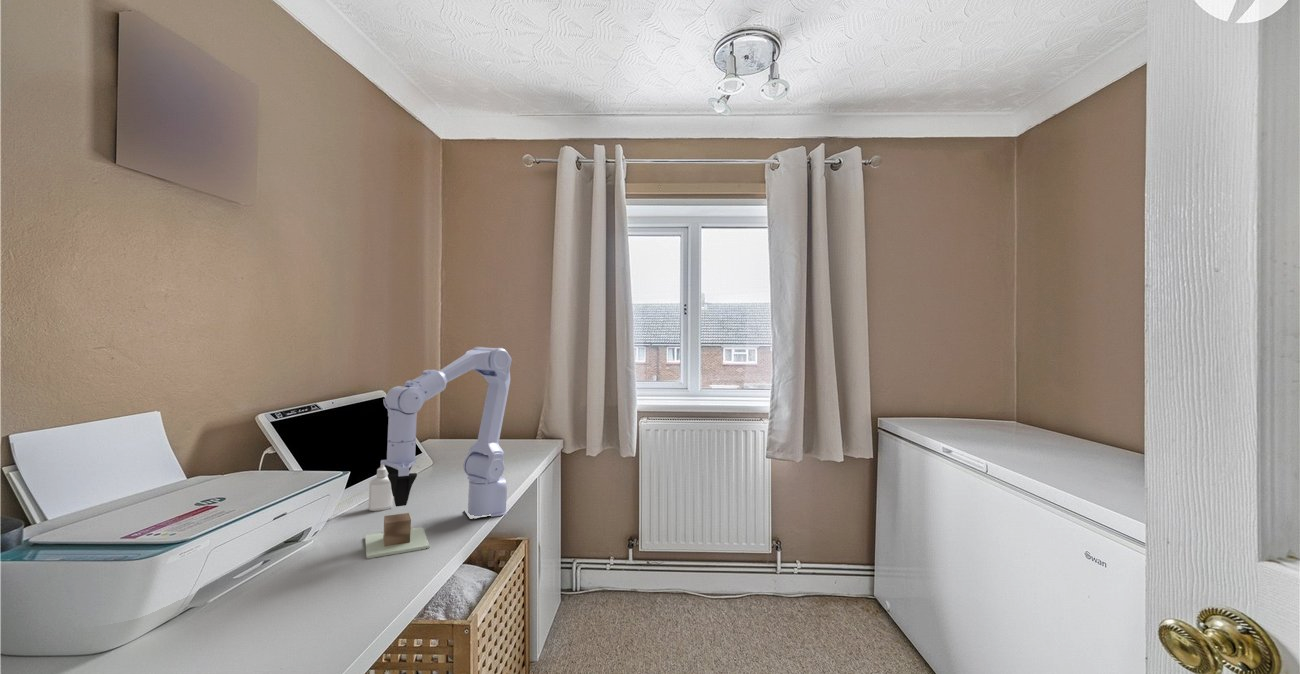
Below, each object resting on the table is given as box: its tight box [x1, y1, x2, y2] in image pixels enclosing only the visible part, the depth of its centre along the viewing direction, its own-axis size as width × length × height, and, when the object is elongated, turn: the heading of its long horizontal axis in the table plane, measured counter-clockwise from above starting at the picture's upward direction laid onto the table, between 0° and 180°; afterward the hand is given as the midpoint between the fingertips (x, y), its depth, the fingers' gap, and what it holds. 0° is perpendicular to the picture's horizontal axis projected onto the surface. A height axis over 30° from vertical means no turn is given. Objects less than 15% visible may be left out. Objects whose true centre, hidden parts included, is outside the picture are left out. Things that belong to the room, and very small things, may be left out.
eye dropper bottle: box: [368, 464, 394, 512], centre depth 132 cm, size 4×6×12 cm
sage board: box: [364, 526, 430, 560], centre depth 110 cm, size 12×12×1 cm
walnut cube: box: [383, 512, 412, 546], centre depth 110 cm, size 5×5×5 cm
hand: (399, 500), depth 111 cm, fingers open, 7 cm apart
